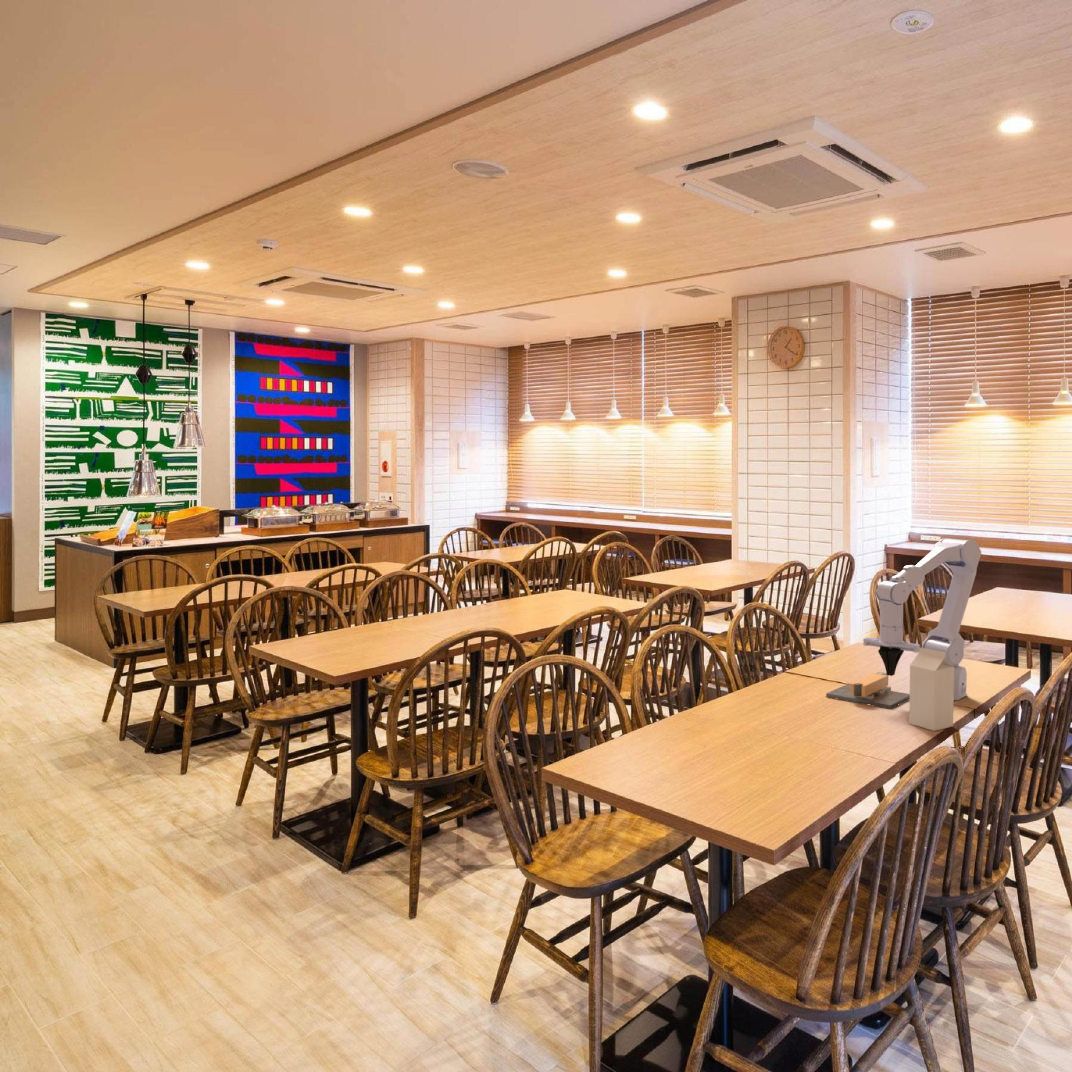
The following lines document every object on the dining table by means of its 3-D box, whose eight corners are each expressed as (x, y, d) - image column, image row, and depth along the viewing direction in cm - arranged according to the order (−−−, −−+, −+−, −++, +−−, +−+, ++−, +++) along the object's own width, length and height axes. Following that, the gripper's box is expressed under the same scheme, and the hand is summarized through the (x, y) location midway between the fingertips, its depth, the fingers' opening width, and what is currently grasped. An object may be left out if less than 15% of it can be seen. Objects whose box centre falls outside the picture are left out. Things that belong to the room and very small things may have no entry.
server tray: (916, 695, 232) (916, 689, 232) (890, 708, 220) (890, 703, 220) (854, 684, 245) (854, 679, 245) (826, 696, 232) (826, 691, 232)
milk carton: (934, 731, 200) (935, 654, 199) (908, 724, 207) (910, 649, 205) (953, 726, 204) (954, 651, 202) (927, 719, 210) (929, 645, 208)
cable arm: (877, 681, 240) (877, 671, 239) (891, 684, 237) (891, 673, 237) (849, 694, 227) (849, 684, 227) (863, 697, 224) (863, 686, 224)
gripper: (858, 624, 226) (858, 673, 227) (913, 631, 216) (912, 682, 217) (869, 620, 231) (869, 668, 232) (923, 627, 221) (922, 677, 222)
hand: (890, 674), depth 225 cm, fingers closed
